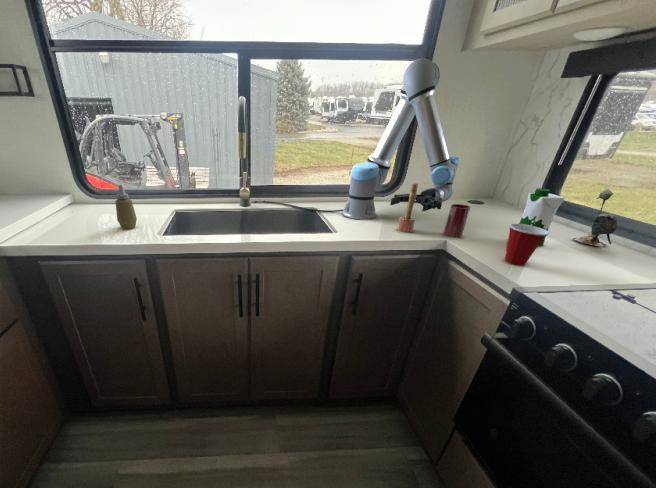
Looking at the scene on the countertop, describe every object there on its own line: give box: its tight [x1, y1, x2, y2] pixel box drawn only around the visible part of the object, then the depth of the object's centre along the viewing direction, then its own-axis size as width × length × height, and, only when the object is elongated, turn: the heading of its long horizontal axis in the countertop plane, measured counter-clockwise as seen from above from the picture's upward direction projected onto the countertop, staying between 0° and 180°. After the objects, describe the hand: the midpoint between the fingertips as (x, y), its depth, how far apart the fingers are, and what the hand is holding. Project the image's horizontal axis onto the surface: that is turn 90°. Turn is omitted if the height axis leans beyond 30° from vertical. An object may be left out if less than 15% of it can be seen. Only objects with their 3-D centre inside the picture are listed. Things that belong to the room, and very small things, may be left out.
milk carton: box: [518, 187, 566, 247], centre depth 124 cm, size 9×9×20 cm
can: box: [442, 203, 472, 239], centre depth 134 cm, size 7×7×12 cm
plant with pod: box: [573, 188, 618, 248], centre depth 123 cm, size 8×11×20 cm
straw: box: [404, 182, 419, 219], centre depth 138 cm, size 2×2×19 cm
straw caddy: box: [397, 215, 416, 233], centre depth 141 cm, size 6×6×6 cm
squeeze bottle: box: [114, 184, 138, 230], centre depth 144 cm, size 8×8×18 cm
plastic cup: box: [504, 222, 550, 266], centre depth 110 cm, size 11×11×12 cm
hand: (407, 204), depth 135 cm, fingers open, 13 cm apart
